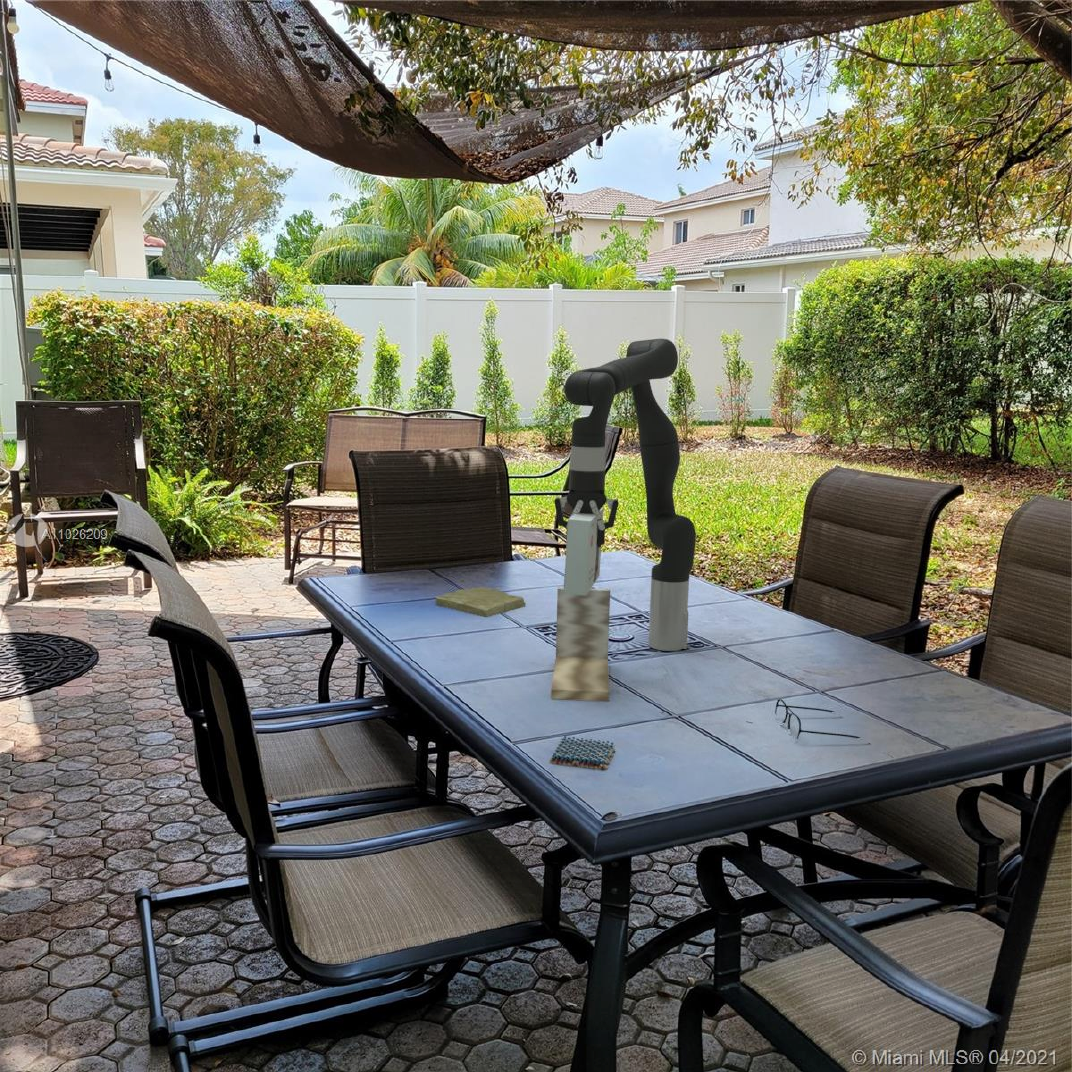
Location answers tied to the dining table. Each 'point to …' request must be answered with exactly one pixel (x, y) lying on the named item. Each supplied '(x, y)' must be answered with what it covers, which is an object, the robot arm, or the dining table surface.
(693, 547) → the robot arm
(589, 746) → the woven mat
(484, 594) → the decorative tile
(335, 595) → the dining table surface
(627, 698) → the dining table surface
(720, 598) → the dining table surface
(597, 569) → the skincare box
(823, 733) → the glasses
